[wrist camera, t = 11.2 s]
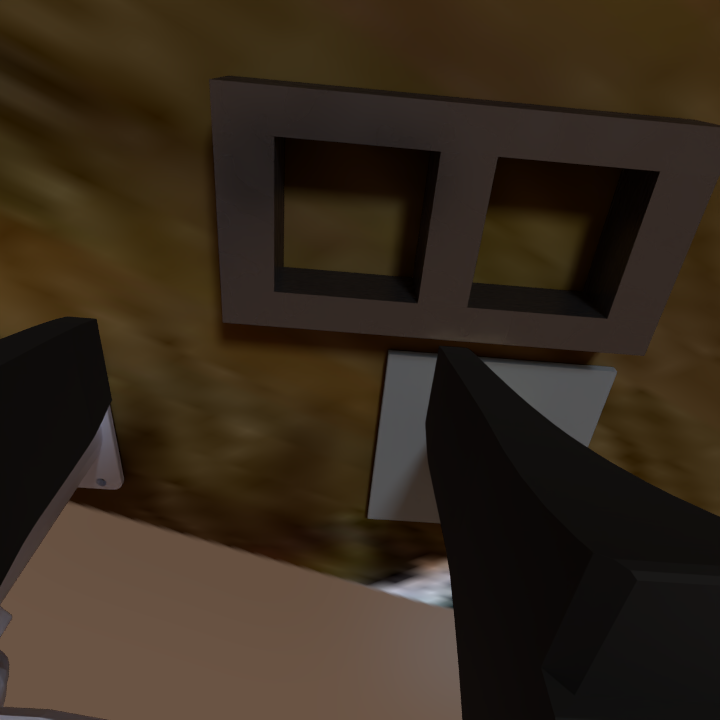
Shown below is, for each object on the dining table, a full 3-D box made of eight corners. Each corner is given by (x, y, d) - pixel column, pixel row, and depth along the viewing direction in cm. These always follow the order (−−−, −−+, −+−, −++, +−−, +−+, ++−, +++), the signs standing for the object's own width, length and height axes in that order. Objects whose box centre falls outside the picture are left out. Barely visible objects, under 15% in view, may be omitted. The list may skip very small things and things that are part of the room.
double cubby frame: (237, 295, 22) (222, 322, 20) (228, 75, 18) (209, 79, 15) (617, 326, 22) (644, 355, 20) (694, 119, 18) (738, 129, 16)
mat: (367, 512, 28) (367, 518, 28) (388, 349, 23) (388, 354, 23) (552, 525, 28) (554, 530, 28) (613, 367, 23) (617, 371, 23)
